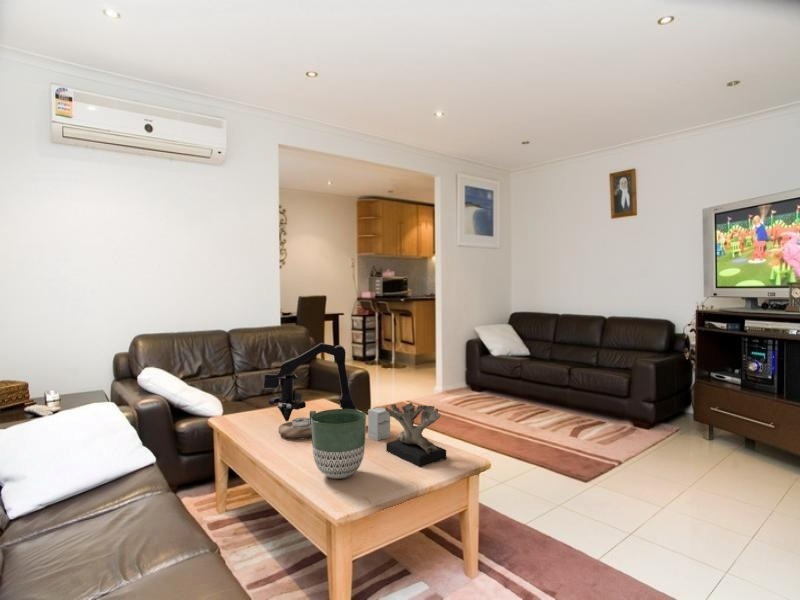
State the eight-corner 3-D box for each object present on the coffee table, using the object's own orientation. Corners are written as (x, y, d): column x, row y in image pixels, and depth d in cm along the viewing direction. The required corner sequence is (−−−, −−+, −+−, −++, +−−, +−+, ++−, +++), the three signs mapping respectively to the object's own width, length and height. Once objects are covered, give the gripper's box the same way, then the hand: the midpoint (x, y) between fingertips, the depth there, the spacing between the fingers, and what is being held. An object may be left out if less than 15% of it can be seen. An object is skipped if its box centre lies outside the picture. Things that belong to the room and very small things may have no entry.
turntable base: (325, 431, 211) (325, 429, 211) (301, 441, 198) (301, 438, 198) (300, 426, 220) (300, 423, 220) (275, 435, 206) (275, 432, 206)
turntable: (331, 427, 212) (331, 413, 212) (301, 440, 195) (301, 424, 195) (300, 421, 222) (300, 407, 222) (269, 432, 205) (269, 417, 205)
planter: (349, 461, 175) (348, 406, 175) (376, 477, 159) (376, 417, 159) (302, 473, 163) (301, 414, 163) (327, 492, 148) (326, 427, 147)
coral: (452, 462, 174) (452, 406, 173) (410, 474, 162) (410, 415, 162) (413, 444, 194) (413, 394, 194) (373, 454, 182) (373, 401, 182)
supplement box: (377, 441, 198) (377, 412, 198) (367, 437, 204) (367, 409, 203) (390, 437, 203) (390, 409, 202) (380, 433, 208) (380, 406, 208)
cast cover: (313, 425, 210) (313, 418, 210) (301, 430, 203) (301, 423, 203) (301, 422, 214) (301, 416, 214) (288, 427, 207) (288, 420, 207)
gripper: (313, 387, 215) (313, 420, 215) (285, 383, 224) (285, 414, 225) (297, 391, 205) (297, 425, 205) (268, 387, 215) (268, 419, 215)
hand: (287, 421), depth 213 cm, fingers closed
